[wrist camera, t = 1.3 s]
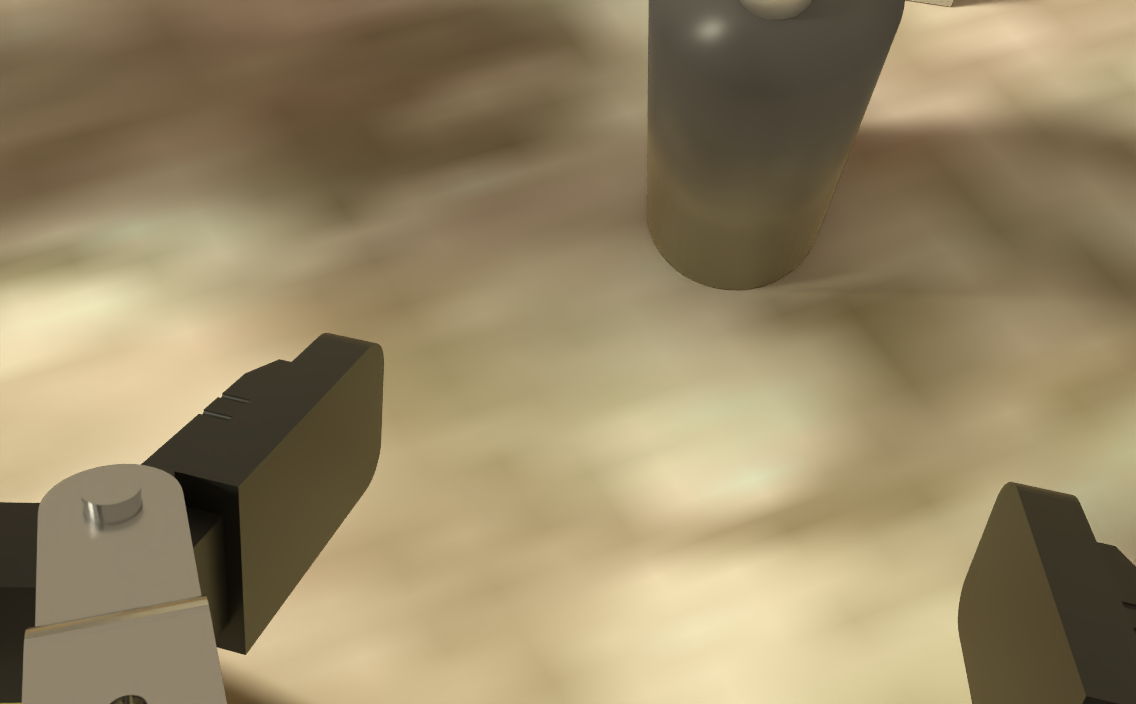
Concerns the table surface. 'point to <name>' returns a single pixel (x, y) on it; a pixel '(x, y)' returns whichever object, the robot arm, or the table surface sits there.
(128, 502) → the robot arm
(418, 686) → the table surface
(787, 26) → the dark grey tube
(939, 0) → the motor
